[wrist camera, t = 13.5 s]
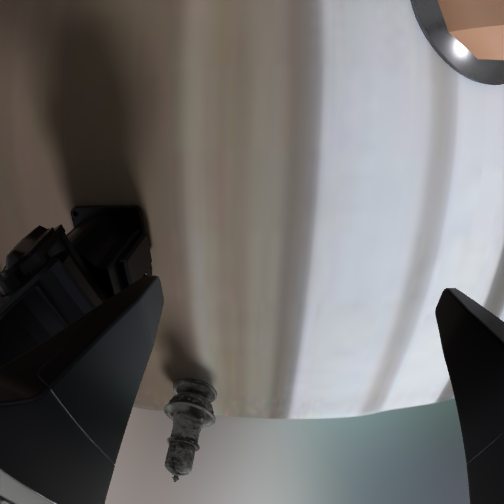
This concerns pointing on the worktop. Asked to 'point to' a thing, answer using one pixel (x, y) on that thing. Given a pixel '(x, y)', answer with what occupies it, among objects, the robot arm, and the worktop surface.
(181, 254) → the worktop surface
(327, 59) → the worktop surface
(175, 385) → the grey turned figure
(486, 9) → the tan rounded cylinder
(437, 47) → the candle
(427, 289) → the worktop surface
